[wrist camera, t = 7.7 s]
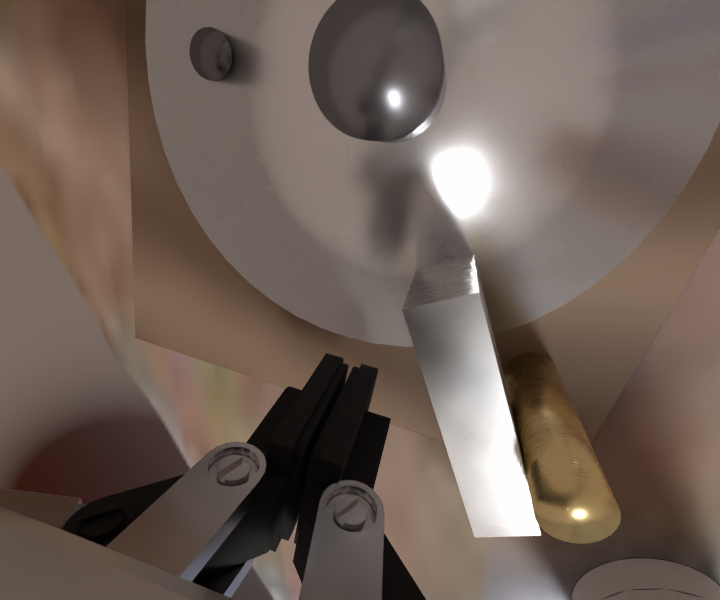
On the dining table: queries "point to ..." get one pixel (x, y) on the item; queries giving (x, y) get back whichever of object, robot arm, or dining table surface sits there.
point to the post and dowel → (404, 122)
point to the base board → (395, 363)
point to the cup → (645, 582)
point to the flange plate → (441, 182)
